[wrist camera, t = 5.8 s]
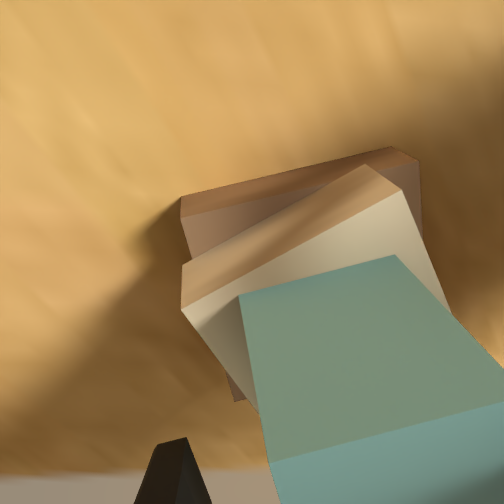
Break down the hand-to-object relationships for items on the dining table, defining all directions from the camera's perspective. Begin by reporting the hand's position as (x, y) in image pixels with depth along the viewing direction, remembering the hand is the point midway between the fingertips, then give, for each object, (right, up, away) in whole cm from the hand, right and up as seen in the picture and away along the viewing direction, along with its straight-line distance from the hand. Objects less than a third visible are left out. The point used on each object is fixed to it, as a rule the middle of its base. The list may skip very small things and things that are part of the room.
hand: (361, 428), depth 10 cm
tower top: (0, +2, +5) cm, 5 cm away
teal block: (0, +1, +3) cm, 3 cm away
